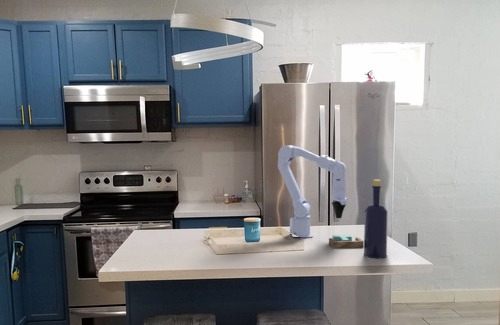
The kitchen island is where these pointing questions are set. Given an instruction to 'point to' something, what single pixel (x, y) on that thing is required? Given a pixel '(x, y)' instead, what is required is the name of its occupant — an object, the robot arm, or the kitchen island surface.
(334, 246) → the wooden drawer handle
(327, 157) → the robot arm
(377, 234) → the bottle
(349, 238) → the t block
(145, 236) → the kitchen island surface
